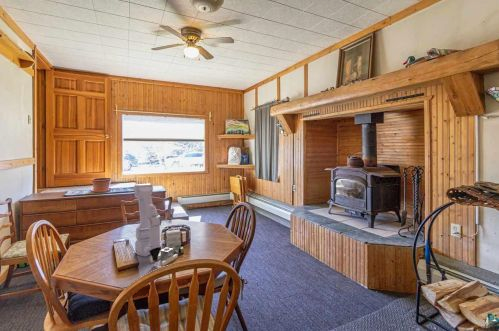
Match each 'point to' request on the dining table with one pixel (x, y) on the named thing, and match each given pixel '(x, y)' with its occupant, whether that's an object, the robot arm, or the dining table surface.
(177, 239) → the ink box
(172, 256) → the guide rails
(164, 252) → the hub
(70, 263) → the dining table surface
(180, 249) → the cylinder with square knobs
